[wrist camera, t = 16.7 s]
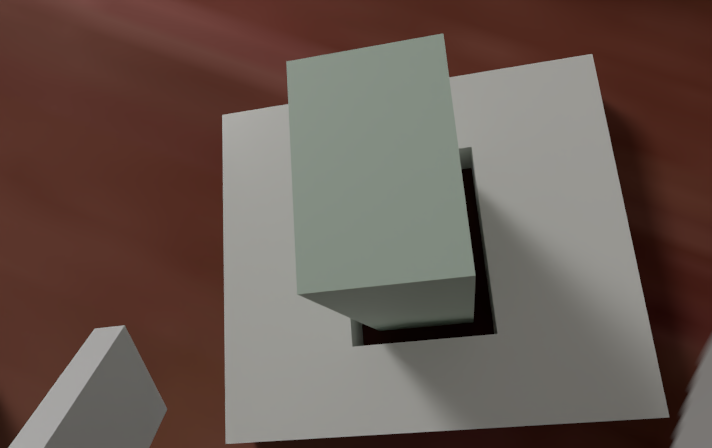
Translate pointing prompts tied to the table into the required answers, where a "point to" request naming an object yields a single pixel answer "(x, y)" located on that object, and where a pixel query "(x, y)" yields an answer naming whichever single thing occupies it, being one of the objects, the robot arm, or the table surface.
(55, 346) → the table surface
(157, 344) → the table surface
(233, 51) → the table surface
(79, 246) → the table surface
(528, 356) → the socket plate
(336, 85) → the key block
